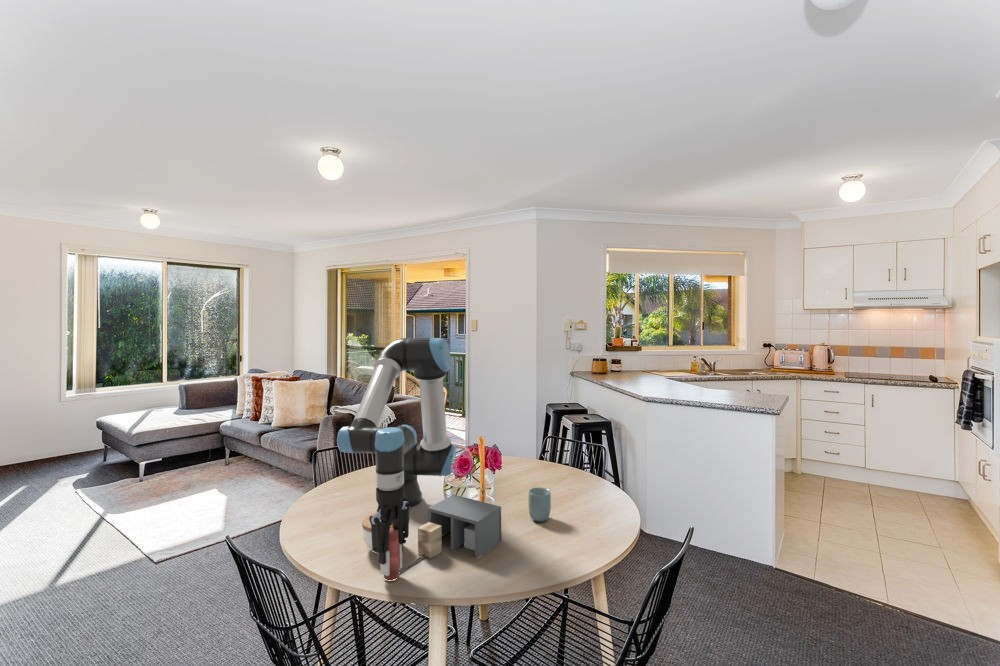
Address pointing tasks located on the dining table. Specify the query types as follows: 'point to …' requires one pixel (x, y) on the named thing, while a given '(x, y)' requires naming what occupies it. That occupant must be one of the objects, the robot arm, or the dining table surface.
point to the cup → (539, 504)
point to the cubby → (468, 521)
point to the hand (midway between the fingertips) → (391, 570)
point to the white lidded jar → (368, 531)
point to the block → (469, 536)
